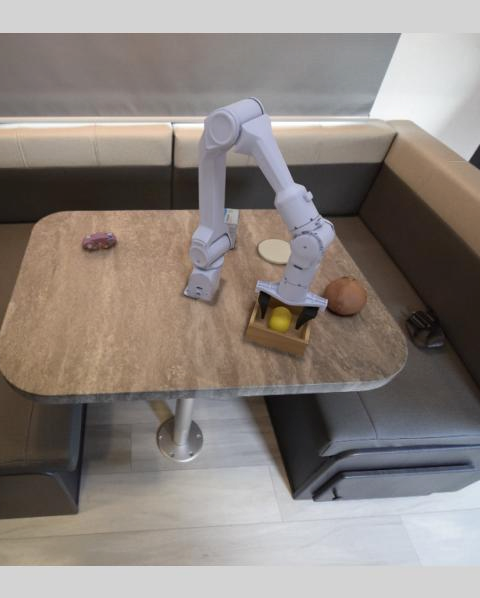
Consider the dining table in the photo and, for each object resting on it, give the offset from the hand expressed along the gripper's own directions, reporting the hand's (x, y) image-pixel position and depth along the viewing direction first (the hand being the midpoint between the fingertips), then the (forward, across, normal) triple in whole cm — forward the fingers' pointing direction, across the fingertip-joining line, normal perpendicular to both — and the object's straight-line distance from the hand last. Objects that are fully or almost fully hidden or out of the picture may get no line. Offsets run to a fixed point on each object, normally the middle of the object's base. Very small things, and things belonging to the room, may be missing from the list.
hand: (279, 321), depth 80 cm
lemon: (+2, 0, 0) cm, 2 cm away
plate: (+3, +5, -30) cm, 30 cm away
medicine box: (+3, +20, -29) cm, 35 cm away
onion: (+3, -13, -13) cm, 19 cm away
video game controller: (+3, +53, -10) cm, 54 cm away
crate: (+3, 0, 0) cm, 3 cm away
